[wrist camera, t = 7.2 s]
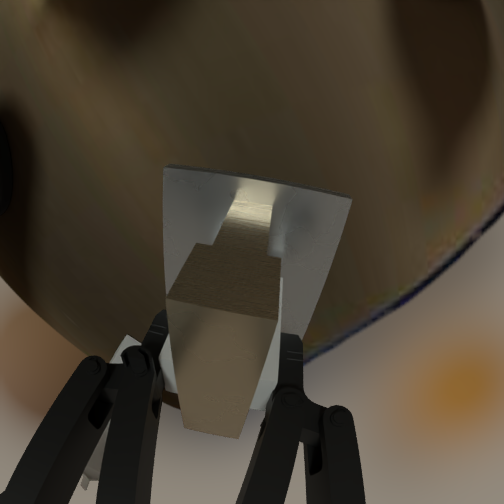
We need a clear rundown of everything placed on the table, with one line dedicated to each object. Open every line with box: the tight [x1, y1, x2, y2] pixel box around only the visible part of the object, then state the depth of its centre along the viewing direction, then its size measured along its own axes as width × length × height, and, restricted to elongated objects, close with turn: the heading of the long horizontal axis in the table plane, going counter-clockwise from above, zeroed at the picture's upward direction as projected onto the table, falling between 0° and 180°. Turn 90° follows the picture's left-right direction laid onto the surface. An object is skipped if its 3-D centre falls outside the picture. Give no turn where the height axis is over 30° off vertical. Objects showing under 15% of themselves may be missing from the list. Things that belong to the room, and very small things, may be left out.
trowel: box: [163, 164, 352, 439], centre depth 13 cm, size 12×10×9 cm
